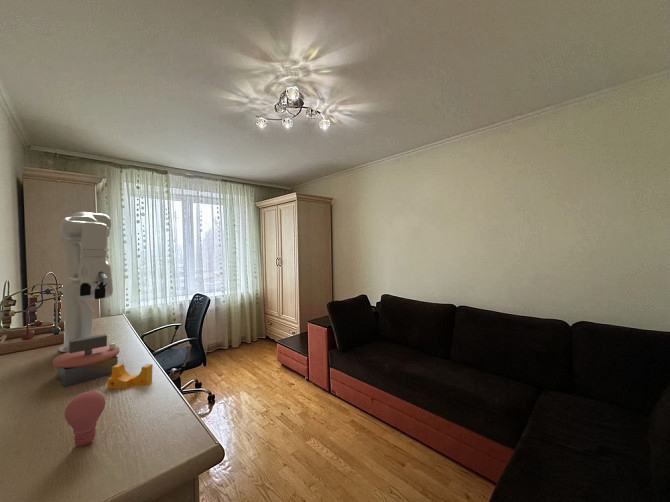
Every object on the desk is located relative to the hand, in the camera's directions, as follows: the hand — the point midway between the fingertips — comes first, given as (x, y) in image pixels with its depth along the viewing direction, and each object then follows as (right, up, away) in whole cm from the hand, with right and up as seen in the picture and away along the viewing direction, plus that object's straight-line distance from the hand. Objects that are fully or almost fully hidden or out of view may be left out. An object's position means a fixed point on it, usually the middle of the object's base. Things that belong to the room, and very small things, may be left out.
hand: (92, 296), depth 103 cm
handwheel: (+3, -22, -5) cm, 23 cm away
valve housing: (+3, -28, -5) cm, 29 cm away
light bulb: (+35, -29, -40) cm, 60 cm away
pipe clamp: (+25, -29, -12) cm, 40 cm away
